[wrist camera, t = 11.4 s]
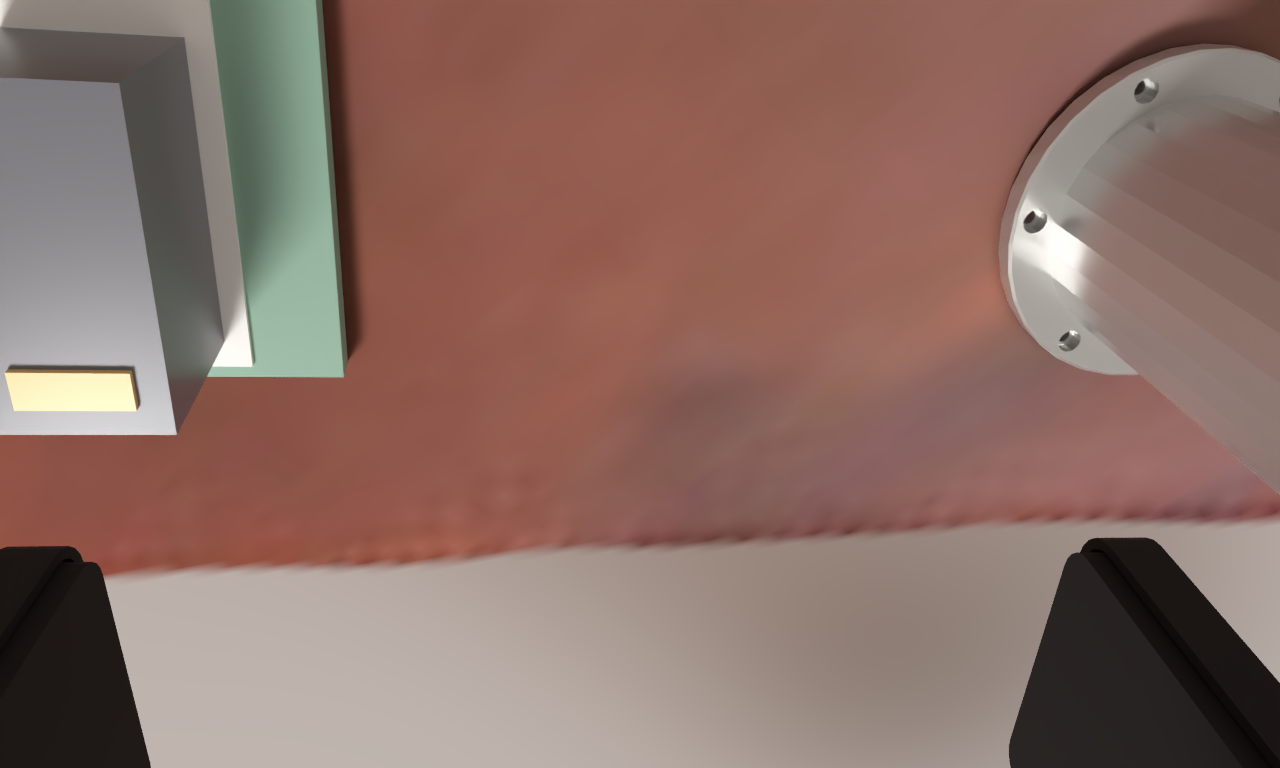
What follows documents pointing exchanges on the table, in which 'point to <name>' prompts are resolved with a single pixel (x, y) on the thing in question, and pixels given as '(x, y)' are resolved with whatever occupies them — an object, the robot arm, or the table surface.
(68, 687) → the robot arm
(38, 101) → the block
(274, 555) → the table surface
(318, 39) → the header board
